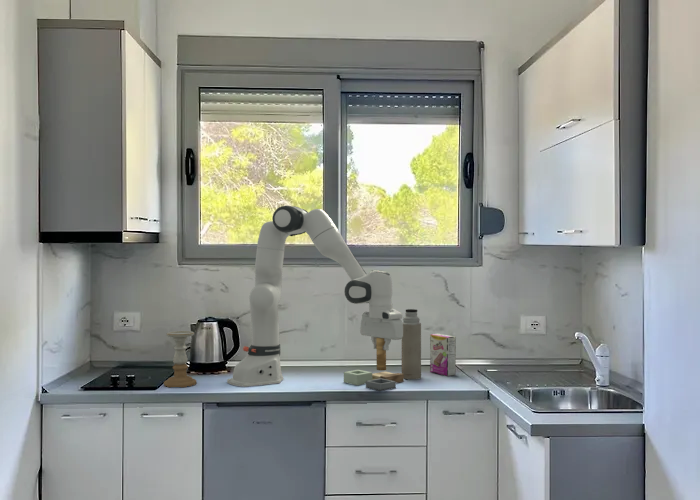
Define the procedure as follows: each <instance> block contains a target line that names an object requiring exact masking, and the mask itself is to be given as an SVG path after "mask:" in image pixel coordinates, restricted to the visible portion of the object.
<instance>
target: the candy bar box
mask: <svg viewBox="0 0 700 500" xmlns="http://www.w3.org/2000/svg"><path fill="white" fill-rule="evenodd" d="M429 336H430V337H429V340H430V341H429V342H430V344H429V345H430V346H429V348H430V349H429V351H430V352H429V353H430V354H429V355H430V357H429V358H430V359H429V360H430V361H429V362H430V363H429V367H430V368H429V371H430V373H433V374H438V375H441V376H446V377H452V376H456V375H457V371H456V369H457V368H456V367H457V364H456V363H457V362H456V359H457V358H456V356H457V355H456V352H457V351H456V348H457V347H456V344H457V343H456V339H457V338H456V336H454V335H448V334H445V333H444V334H443V333H432V334H429Z"/></svg>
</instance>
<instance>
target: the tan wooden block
mask: <svg viewBox="0 0 700 500" xmlns="http://www.w3.org/2000/svg"><path fill="white" fill-rule="evenodd" d="M389 374H395V373H394V372H389V371H381V372H374V373H373V372H372V380H374V379H380V376H383V375H389Z"/></svg>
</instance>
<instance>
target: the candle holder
mask: <svg viewBox="0 0 700 500" xmlns="http://www.w3.org/2000/svg"><path fill="white" fill-rule="evenodd" d="M194 335H195V332H194V331H190V330H177V331H175V330H174V331H169V332H167V333H166V335H165V336H167V337H168V338H169V337H170V338H172V339H173V340H174V343H175V346H173V349H174V356H173V358H172V361H173V364H174V365H173V366H172V367H171V368H172V369H173V370H174V373H173V376H171V377H168V378H167V379H166V380H165V381H163V386H164V385H165V386H164V387H166V386H167V387H166V388H171V387H181V388H188V387H187V386H189V387H193V386H195V385H197V380H196V379H195V378H193V377H192V376H190V375H188V373H187V370H188V368H189V366H188V365H187V363H188V361H189V360H188V355H187V351H186V349H188V346H187V345H186V341H187V340H188V338H189V337H193V336H194ZM192 385H193V386H192Z"/></svg>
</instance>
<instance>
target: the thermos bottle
mask: <svg viewBox="0 0 700 500" xmlns="http://www.w3.org/2000/svg"><path fill="white" fill-rule="evenodd" d="M420 320H421V319H420V317H419V316H418V309H414V308H408V309H405V315H404V317H402V323H403V337H402V339H401V373H402V374H404V380H420V379H421V378H422V323H421V322H420Z"/></svg>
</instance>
